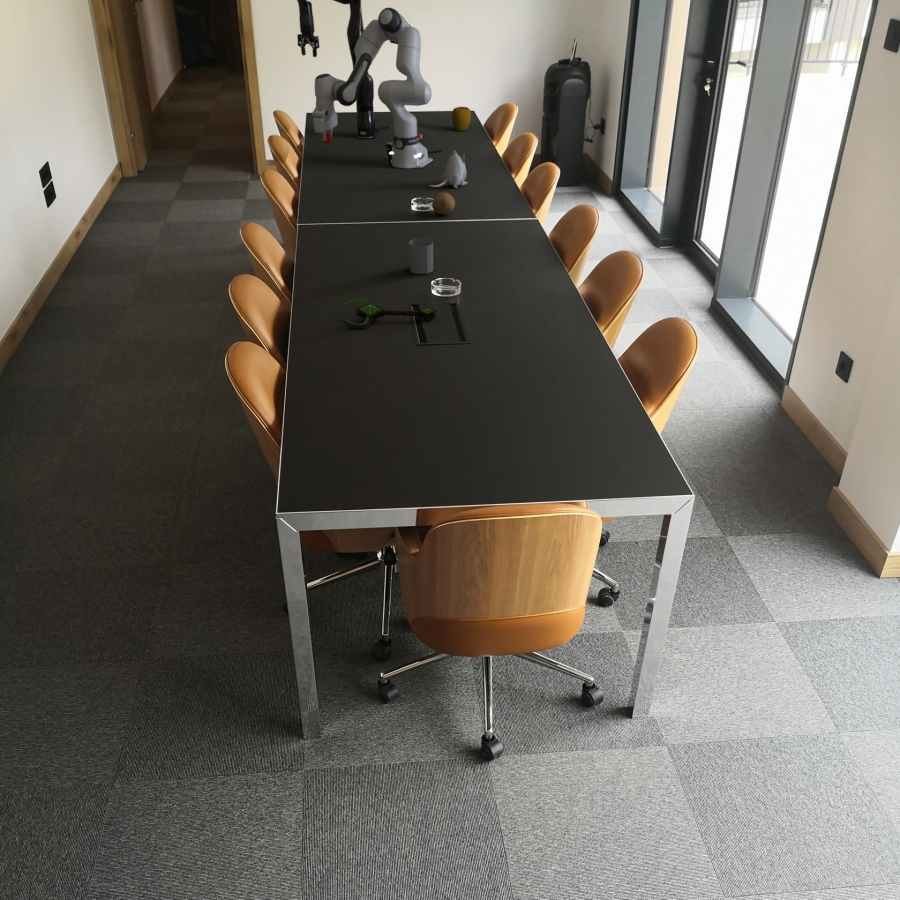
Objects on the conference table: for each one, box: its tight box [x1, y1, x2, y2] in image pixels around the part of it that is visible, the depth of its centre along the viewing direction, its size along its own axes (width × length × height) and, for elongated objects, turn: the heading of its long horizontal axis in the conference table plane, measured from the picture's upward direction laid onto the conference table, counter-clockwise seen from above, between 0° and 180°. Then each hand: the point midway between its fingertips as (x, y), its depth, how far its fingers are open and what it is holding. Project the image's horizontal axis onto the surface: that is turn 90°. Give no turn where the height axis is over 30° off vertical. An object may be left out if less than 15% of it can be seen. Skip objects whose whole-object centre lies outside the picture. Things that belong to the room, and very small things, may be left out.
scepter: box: [339, 296, 438, 329], centre depth 270 cm, size 6×13×30 cm
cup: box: [408, 237, 434, 275], centre depth 305 cm, size 8×8×10 cm
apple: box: [451, 105, 472, 132], centre depth 487 cm, size 11×11×13 cm
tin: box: [322, 131, 333, 144], centre depth 433 cm, size 4×4×4 cm
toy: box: [428, 149, 468, 189], centre depth 390 cm, size 9×24×15 cm, turn 137°
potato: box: [431, 192, 456, 216], centre depth 360 cm, size 10×14×8 cm
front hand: (327, 139), depth 433 cm, fingers closed on tin, 4 cm apart
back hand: (309, 56), depth 472 cm, fingers open, 8 cm apart
